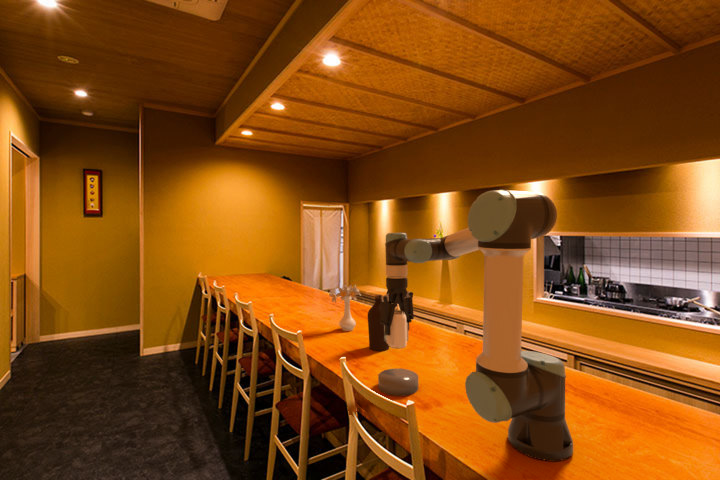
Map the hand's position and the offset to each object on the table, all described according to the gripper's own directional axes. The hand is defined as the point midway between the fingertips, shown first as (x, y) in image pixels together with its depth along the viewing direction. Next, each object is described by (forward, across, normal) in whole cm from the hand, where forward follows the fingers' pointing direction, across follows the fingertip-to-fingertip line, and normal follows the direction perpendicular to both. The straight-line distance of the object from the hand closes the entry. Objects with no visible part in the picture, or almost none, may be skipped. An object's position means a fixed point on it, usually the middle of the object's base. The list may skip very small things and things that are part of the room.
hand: (397, 341), depth 132 cm
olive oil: (+16, -22, -37) cm, 46 cm away
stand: (+16, 0, 0) cm, 16 cm away
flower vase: (+16, -28, -73) cm, 80 cm away
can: (+2, 0, 0) cm, 2 cm away
